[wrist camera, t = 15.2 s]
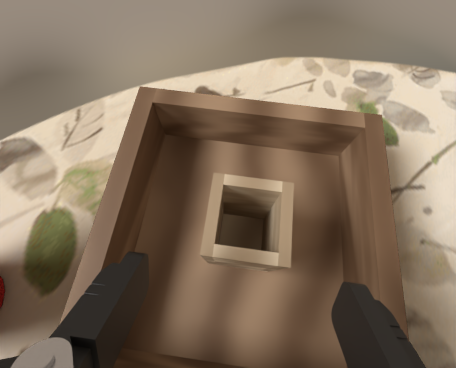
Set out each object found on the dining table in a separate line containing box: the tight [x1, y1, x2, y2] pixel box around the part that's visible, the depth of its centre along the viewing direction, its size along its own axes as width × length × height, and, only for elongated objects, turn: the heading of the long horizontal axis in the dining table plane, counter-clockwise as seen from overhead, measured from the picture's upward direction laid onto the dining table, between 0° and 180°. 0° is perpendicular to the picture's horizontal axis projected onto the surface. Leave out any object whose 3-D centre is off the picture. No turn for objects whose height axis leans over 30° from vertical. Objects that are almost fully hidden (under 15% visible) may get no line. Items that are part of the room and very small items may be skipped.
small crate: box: [200, 173, 294, 272], centre depth 18 cm, size 5×5×8 cm
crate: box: [59, 87, 409, 368], centre depth 20 cm, size 21×22×6 cm
